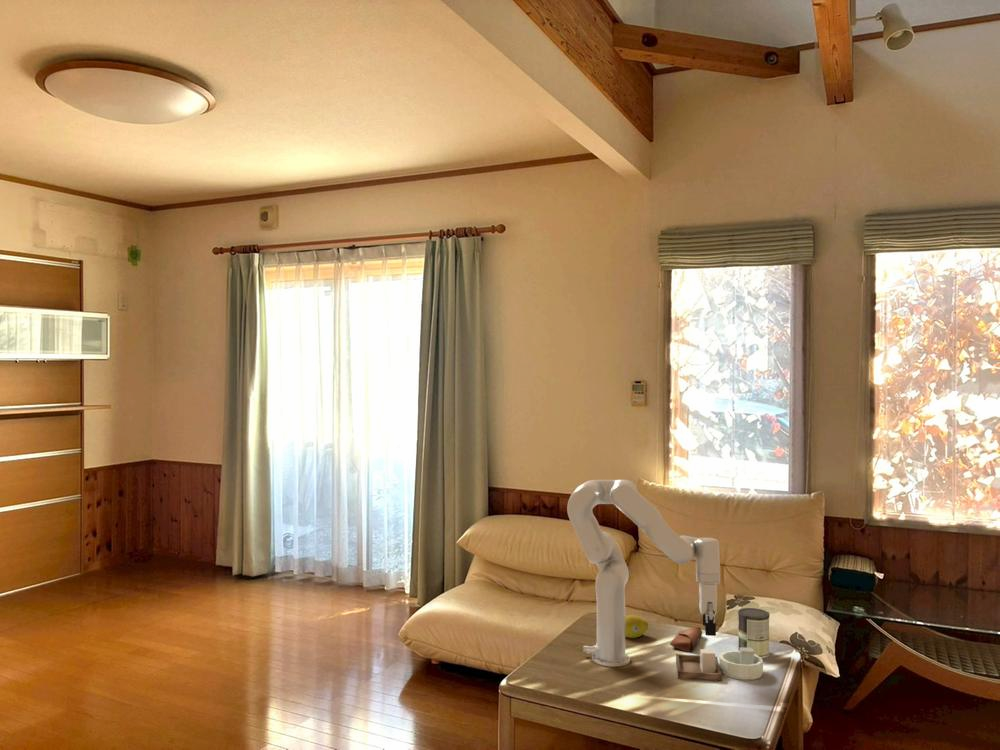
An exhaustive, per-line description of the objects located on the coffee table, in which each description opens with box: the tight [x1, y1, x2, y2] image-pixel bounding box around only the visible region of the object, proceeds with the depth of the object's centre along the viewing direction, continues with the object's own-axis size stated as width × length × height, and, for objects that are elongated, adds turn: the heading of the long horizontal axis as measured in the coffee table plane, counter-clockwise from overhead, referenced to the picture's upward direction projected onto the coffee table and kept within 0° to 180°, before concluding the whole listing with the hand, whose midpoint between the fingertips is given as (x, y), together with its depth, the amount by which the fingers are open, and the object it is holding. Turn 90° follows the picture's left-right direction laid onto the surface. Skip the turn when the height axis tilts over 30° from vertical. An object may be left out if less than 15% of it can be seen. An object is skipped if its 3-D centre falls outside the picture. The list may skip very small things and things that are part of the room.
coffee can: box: [737, 607, 770, 659], centre depth 259 cm, size 10×10×14 cm
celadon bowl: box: [718, 650, 764, 681], centre depth 242 cm, size 13×13×4 cm
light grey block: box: [740, 647, 754, 665], centre depth 244 cm, size 4×4×6 cm
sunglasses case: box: [669, 626, 703, 653], centre depth 269 cm, size 18×7×7 cm
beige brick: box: [699, 648, 716, 672], centre depth 243 cm, size 4×4×6 cm
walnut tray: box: [675, 653, 723, 683], centre depth 243 cm, size 13×16×2 cm
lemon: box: [625, 614, 649, 639], centre depth 275 cm, size 11×8×8 cm
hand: (709, 630), depth 243 cm, fingers open, 9 cm apart
